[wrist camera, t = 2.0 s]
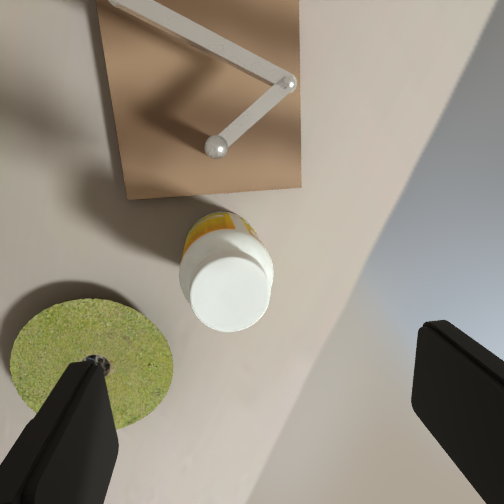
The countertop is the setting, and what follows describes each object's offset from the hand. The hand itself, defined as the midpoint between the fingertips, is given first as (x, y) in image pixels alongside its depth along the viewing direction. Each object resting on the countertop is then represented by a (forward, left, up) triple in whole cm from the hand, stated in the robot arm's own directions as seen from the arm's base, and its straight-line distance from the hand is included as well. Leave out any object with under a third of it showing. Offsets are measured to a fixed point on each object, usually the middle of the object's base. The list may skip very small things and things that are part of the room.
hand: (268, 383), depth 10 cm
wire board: (+14, +1, -17) cm, 22 cm away
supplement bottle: (0, +1, -17) cm, 17 cm away
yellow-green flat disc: (-8, +11, -17) cm, 21 cm away
